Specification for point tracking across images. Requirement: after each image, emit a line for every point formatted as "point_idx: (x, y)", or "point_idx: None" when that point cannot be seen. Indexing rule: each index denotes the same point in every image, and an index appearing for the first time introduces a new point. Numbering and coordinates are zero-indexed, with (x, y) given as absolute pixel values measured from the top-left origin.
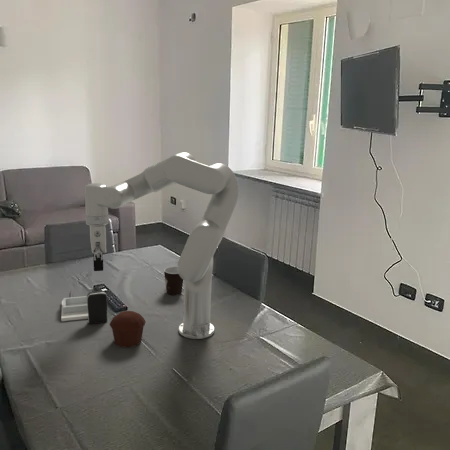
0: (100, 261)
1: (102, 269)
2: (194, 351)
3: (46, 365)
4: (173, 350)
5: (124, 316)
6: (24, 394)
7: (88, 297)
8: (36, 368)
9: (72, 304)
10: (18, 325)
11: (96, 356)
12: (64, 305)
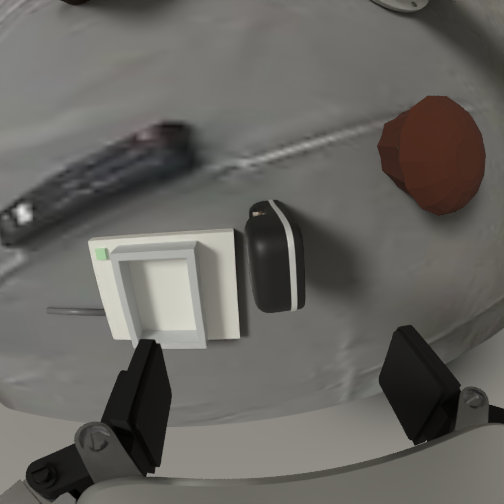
0: (459, 392)
1: (412, 333)
2: (467, 28)
3: (431, 329)
4: (463, 63)
5: (479, 174)
6: (476, 338)
7: (302, 307)
8: (431, 342)
9: (141, 313)
10: (242, 405)
11: (447, 238)
12: (191, 345)
